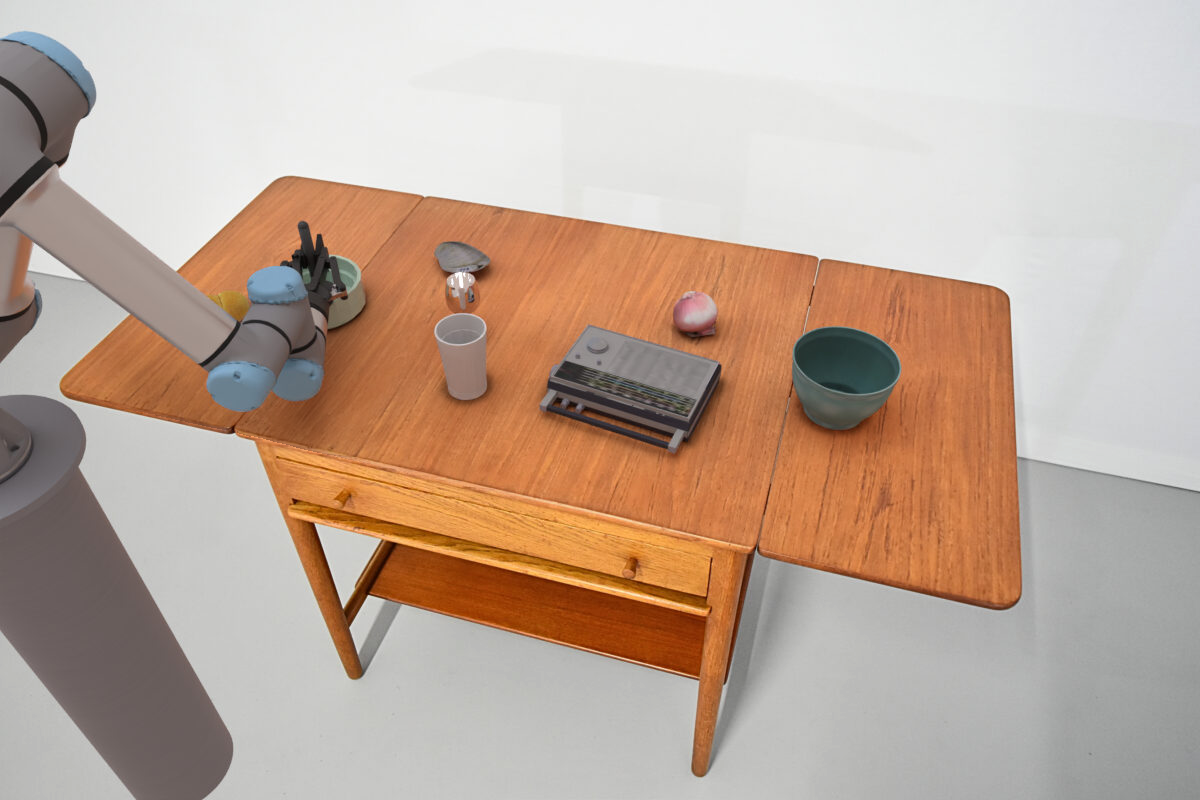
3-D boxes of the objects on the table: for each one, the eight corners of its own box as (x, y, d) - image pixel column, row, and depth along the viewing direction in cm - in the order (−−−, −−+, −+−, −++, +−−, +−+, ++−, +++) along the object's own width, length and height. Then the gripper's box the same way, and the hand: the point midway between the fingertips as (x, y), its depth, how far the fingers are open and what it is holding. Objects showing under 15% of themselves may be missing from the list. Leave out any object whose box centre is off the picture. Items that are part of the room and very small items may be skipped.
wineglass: (475, 350, 152) (469, 293, 144) (444, 343, 154) (437, 286, 146) (489, 330, 157) (484, 274, 148) (459, 324, 158) (452, 267, 150)
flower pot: (841, 365, 151) (854, 314, 143) (907, 426, 140) (924, 374, 133) (762, 394, 145) (771, 343, 138) (823, 460, 135) (837, 408, 127)
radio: (723, 355, 144) (680, 436, 131) (720, 380, 148) (678, 461, 134) (585, 316, 151) (531, 389, 138) (585, 341, 155) (532, 414, 141)
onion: (693, 309, 162) (696, 276, 157) (726, 329, 158) (730, 296, 153) (663, 328, 157) (665, 295, 153) (696, 349, 153) (699, 315, 149)
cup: (435, 380, 147) (426, 322, 139) (480, 365, 150) (474, 307, 142) (454, 409, 142) (446, 351, 134) (500, 393, 145) (495, 335, 137)
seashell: (421, 271, 169) (418, 248, 166) (447, 249, 175) (444, 227, 171) (473, 289, 165) (471, 266, 162) (498, 267, 171) (496, 244, 167)
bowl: (308, 345, 153) (300, 317, 149) (262, 306, 161) (253, 278, 157) (383, 307, 161) (378, 279, 157) (335, 271, 169) (329, 244, 165)
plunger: (317, 316, 158) (296, 234, 146) (300, 302, 161) (278, 221, 149) (344, 303, 161) (325, 221, 149) (327, 289, 164) (307, 209, 152)
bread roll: (254, 321, 158) (248, 302, 155) (201, 334, 155) (194, 315, 152) (247, 295, 163) (241, 277, 161) (195, 307, 160) (188, 289, 158)
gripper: (260, 345, 143) (275, 262, 160) (355, 336, 145) (360, 255, 162) (248, 307, 138) (264, 226, 155) (346, 299, 140) (352, 219, 157)
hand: (313, 241), depth 158 cm, fingers closed on plunger, 2 cm apart
